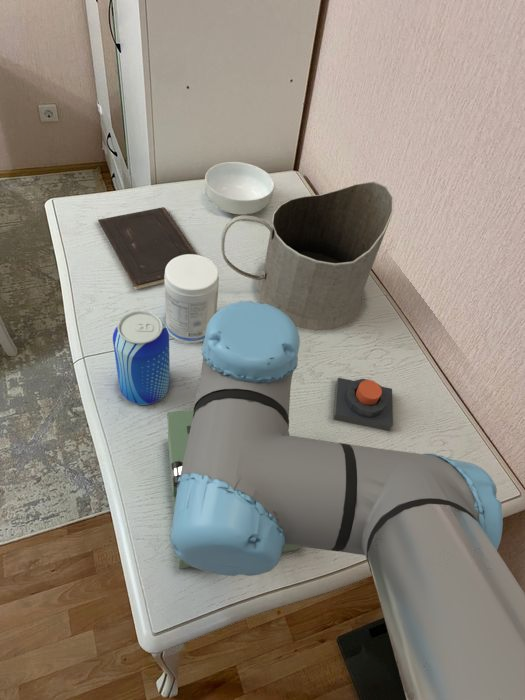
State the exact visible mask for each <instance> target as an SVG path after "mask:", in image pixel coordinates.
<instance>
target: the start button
mask: <svg viewBox="0 0 525 700" xmlns="http://www.w3.org/2000/svg"><path fill="white" fill-rule="evenodd" d="M371 380H372V379H367V380H364V381H362V382H361V383H360V385H359V387H358V389H357V391H356V397H357V399H358V400H359V402H361V403H362V404H364V405H368V406H372V405H375V404H376V403H377V402H378V400H379V398H380V396H381V394H382V389H381V387H380V386H381V385H380V384H379V383H377V382H376V381H375V380H372V381H371ZM378 384H379V385H380V386H379V385H378Z"/></svg>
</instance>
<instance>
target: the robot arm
mask: <svg viewBox="0 0 525 700" xmlns="http://www.w3.org/2000/svg"><path fill="white" fill-rule="evenodd" d="M300 343H301V339H300V333H299V330H298V327H296V326H295V324H294V323H293V321H292V320H291V319H290V318H289V317H288V316H287V315H286V314H285V313H284V312H282V311H281V310H279V309H277V308H276V307H274V306H271V305H268V304H265V303H264V304H263V303H260V302H254V301H252V300H246V301H237V302H233V303H229V304H227V305H225V306H223V307H222V308H220V309H218V310H217V312H216V313H215V314H214V315H213V317H212V318H211V319H210V321H209V323H208V325H207V328H206V334H205V340H204V341H202V347H201V356H202V363H201V371H200V377H199V379H198V385H197V390H196V395H195V399H194V406H193V410H194V414H193V420H192V424H191V429H190V433H189V438H188V442H187V447H186V451H185V456H184V460H183V463H182V462H180V461H176V462H173V463H172V464H171V466H172V477H173V486H175V487H177V495H176V501H175V508H174V507H173V515H172V519H171V520H172V521H171V527H170V534H169V538H170V543H171V546H172V549H173V551H174V552H175V555H177V557H178V556H179V557H180V558H181V559H182V560H183V561H184V562H186V563H187V564H189V565H191V566H192V567H191V568H194V569H198V570H200V571H202V572H206V573H210V574H215V575H220V576H226V577H227V576H229V577H236V576H241V575H243V576H247V577H254V576H260V575H262V574H265V573H268V572H270V571H271V570H273V569H275V568H276V566H277V565H278V563H280V561H281V558H282V552H281V551H282V549H283V548H284V544H285V545H292V546H300V548H307V549H308V548H309V549H315V550H324V551H333V552H339V553H340V552H341V553H346V554H347V553H348V554H355V555H361V556H365V558H366V561H367V564H368V567H369V571H370V574H371V576H372V579H373V582H374V586H375V591H376V593H377V597H378V601H379V604H380V608H381V611H382V615H383V619H384V622H385V627H386V630H387V633H388V636H389V640H390V644H391V647H392V651H393V655H394V659H395V663H396V667H397V669H398V673H399V677H400V680H401V684H402V688H403V691H404V695H405V698H406V700H525V591H524V590H523V589H522V587H521V586H520V584H519V583H518V581H517V579H516V578H515V577H514V575H513V573H512V571H511V570H510V569H509V567H508V566H507V564H506V563H505V561H504V560H503V558H502V557H501V555H500V554H499V552H498V549H499V546H500V544H501V540H502V534H503V525H504V522H503V521H504V519H503V516H504V515H503V506H502V503H501V500H499V499H497V490H498V488H497V485H496V484H495V481H494V480H493V479H492V477H491V475H490V474H489V473H488V472H487V471H486V470H485V469H483V468H482V467H481V466H479V465H477V464H474V463H472V462H469V461H468V462H467V461H462V460H457V459H452V458H449V457H446V456H444V455H438V454H436V453H417V452H408V451H400V450H394V449H386V448H378V447H370V446H363V445H357V444H349V443H343V442H335V441H327V440H321V439H315V438H307V437H301V436H295V435H290V433H289V434H288V431H289V430H290V429H289V428H290V403H291V402H290V401H291V387H292V385H291V384H292V379H293V374H294V371H295V370H297V367H298V362H299V359H298V354H299V350H300ZM289 435H290V436H289Z"/></svg>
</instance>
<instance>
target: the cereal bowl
mask: <svg viewBox="0 0 525 700" xmlns="http://www.w3.org/2000/svg"><path fill="white" fill-rule="evenodd" d="M204 190H205V193H206V196H207V197H208V199H209V201H210V202H211V203H212V204H213V205H214V206H215V207H217V208H218V209H220V210H222V211H223V212H226V213H230V214H234V215H238V216H245V215H246V216H248V215H252V214H255V213H258V212H260V211H262V210H263V209H264V208H266V207H267V206H268V205H269V204H270V202H271V200H272V198H273V195H274V191H275V181H274V179H273V177H272V176H271V174H269V173H268V172H267V171H266V170H264V169H262V168H260V167H259V166H257V165H254V164H251V163H246V162H243V161H227V162H225V161H224V162H220V163H217V164H215V165H213V166H211V167H210V168H209V169H208V170H207V171H206V173H205V176H204Z"/></svg>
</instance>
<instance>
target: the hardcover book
mask: <svg viewBox="0 0 525 700" xmlns="http://www.w3.org/2000/svg"><path fill="white" fill-rule="evenodd" d="M97 222H98V223H99V225H100V227H101V229H102V232H103V233H104V234H105V237H106V238H107V240H108V242H109V243H110V245H111V247H112V249H113V251H114V253H115V255H116V256H117V258H118V260H119V262H120V264H121V266H122V268H123V269H124V271H125V273H126V276H127V277H128V279H129V280H130V282H131V284H132V286H133V288H134V289H135V290H140V289H143V288H148V287H151V286H155V285H159V284H165V282H164V276H165V268H166V266H167V264H168V263H169V262H170V261H171V260H172V259H174V258H175V257H178V256H181V255H186V254H195V255H198V253H197V252H196V251H195V250H194V248H193V247H192V245H191V244H190V242H189V241H188V239H187V238H186V236H185V235H184V234H183V232H182V230H181V229H180V228H179V226H178V224H177V223H176V221H175V220H174V219H173V217H172V216H171V214H170V213H169V212H168V210H167V209H166V207H164V206H162V207H157V208H151V209H147V210H146V209H145V210H141V211H136V212H131V213H126V214H121V215H116V216H110V217H105V218H99V219H97Z"/></svg>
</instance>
